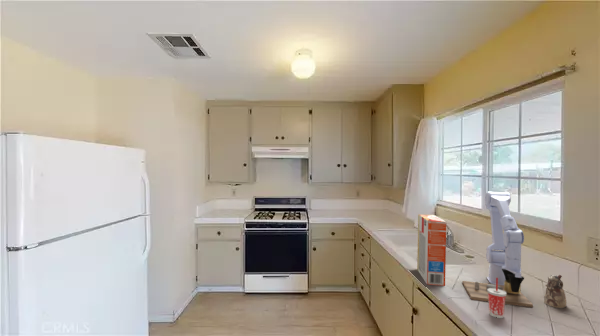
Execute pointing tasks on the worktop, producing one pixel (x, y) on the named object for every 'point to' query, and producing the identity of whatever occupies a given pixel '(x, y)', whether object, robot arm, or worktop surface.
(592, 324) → the worktop surface
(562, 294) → the figurine
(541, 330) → the worktop surface
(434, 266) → the orange cereal box
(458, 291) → the worktop surface
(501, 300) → the beverage cup
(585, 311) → the worktop surface
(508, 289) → the brass gear
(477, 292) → the carrier plate
